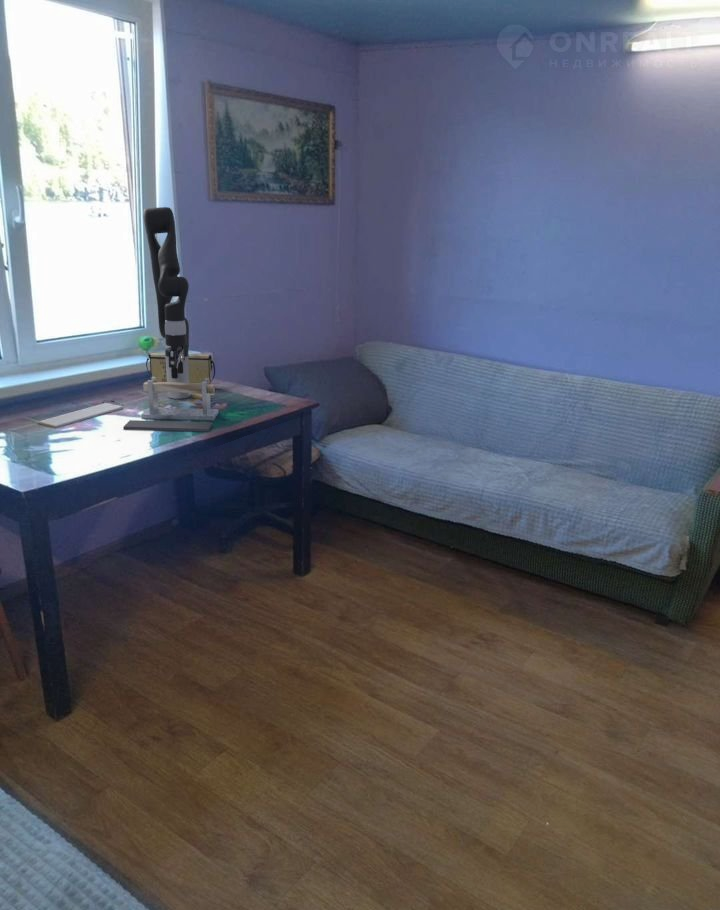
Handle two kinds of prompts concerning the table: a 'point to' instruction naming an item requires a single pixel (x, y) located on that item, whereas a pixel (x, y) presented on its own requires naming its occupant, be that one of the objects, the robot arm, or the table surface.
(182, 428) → the rubber mat
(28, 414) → the table surface
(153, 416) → the hook rack
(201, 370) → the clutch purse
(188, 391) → the birch rail
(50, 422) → the baseboard molding
